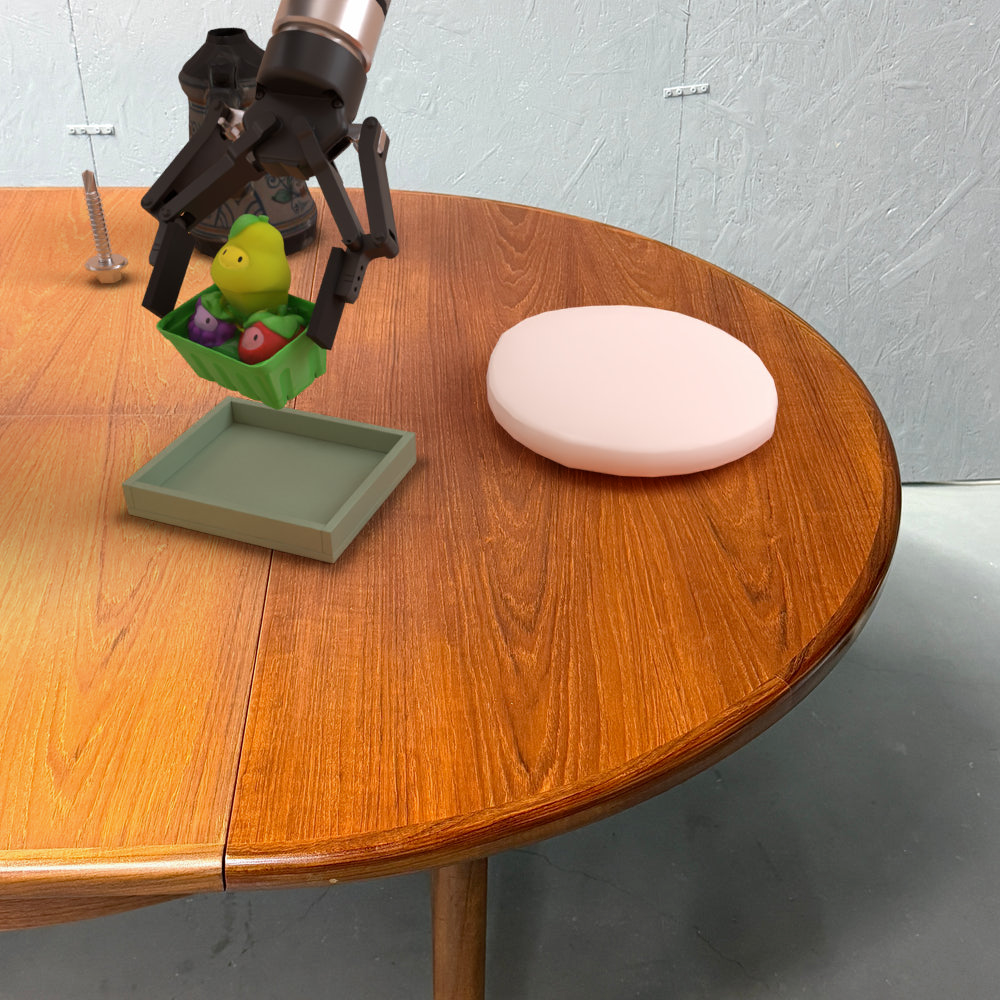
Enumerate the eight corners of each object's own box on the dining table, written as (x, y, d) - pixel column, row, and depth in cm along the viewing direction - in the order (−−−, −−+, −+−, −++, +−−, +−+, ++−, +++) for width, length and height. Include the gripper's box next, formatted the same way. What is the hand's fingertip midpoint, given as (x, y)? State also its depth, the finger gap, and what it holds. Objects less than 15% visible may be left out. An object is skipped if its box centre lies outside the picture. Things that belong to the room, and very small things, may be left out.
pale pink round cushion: (840, 417, 91) (545, 470, 84) (823, 477, 95) (540, 532, 88) (695, 264, 111) (447, 297, 104) (686, 319, 115) (447, 354, 109)
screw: (79, 282, 126) (109, 268, 130) (110, 290, 124) (140, 276, 128) (54, 172, 119) (86, 160, 122) (87, 178, 117) (118, 166, 121)
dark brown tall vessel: (292, 208, 148) (271, 11, 134) (349, 254, 134) (332, 40, 120) (172, 229, 141) (137, 24, 127) (220, 280, 127) (186, 56, 113)
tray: (128, 514, 87) (121, 483, 85) (232, 424, 99) (227, 395, 97) (333, 564, 82) (330, 532, 80) (416, 462, 94) (415, 432, 92)
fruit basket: (173, 381, 81) (116, 249, 73) (257, 319, 85) (212, 189, 77) (278, 428, 75) (229, 290, 67) (362, 358, 79) (325, 222, 72)
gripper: (489, 101, 79) (412, 374, 76) (201, 71, 86) (120, 320, 83) (460, 38, 72) (374, 336, 69) (150, 11, 79) (58, 280, 76)
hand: (235, 328), depth 76 cm, fingers closed on fruit basket, 12 cm apart
